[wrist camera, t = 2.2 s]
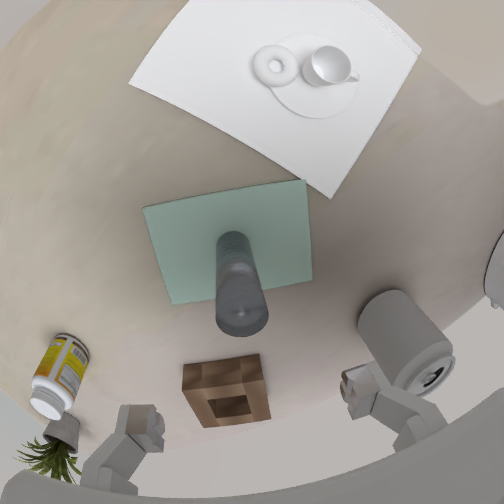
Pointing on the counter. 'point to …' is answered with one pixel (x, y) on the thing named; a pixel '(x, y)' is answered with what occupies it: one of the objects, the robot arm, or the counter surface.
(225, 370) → the hole block
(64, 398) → the supplement bottle
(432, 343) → the can
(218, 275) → the pin
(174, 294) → the mat
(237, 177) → the counter surface
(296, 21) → the teacup and saucer
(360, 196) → the counter surface
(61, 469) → the house plant
